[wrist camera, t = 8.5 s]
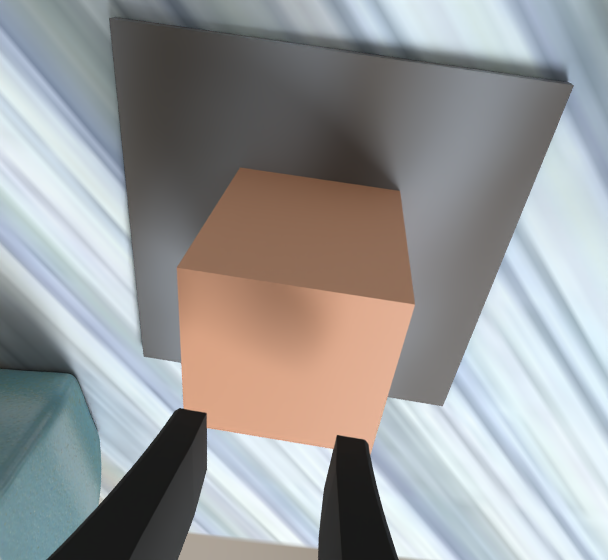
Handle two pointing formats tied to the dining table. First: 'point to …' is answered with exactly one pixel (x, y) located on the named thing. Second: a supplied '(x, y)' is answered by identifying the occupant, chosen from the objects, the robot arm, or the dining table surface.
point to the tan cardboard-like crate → (295, 308)
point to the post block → (330, 163)
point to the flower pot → (44, 462)
